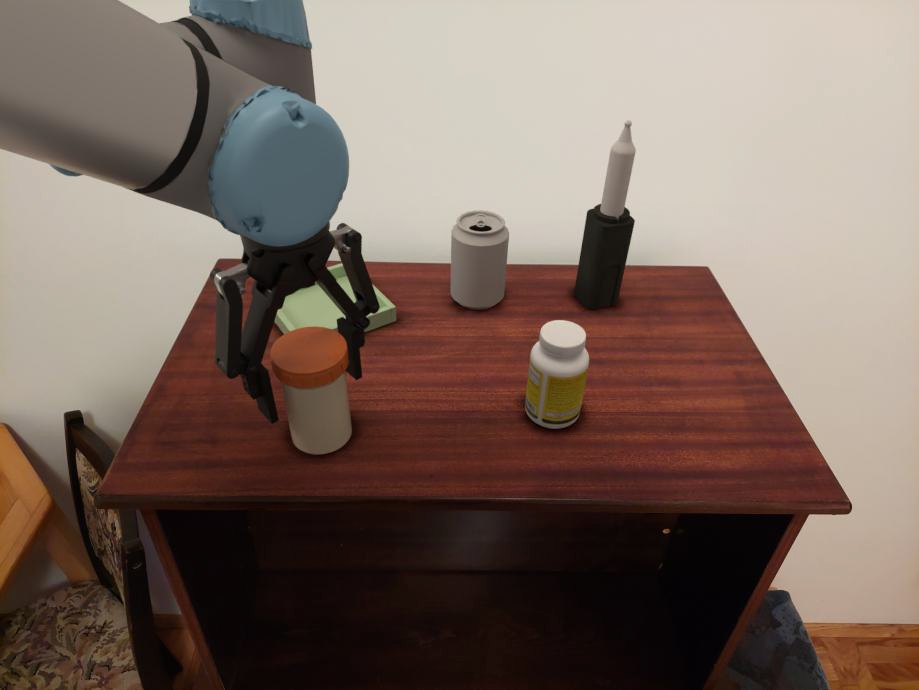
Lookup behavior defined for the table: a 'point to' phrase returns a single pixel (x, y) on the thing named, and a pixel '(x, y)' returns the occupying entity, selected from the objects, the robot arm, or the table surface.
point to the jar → (319, 416)
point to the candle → (607, 232)
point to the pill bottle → (557, 375)
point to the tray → (327, 307)
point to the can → (479, 259)
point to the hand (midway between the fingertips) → (312, 392)
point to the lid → (309, 357)
